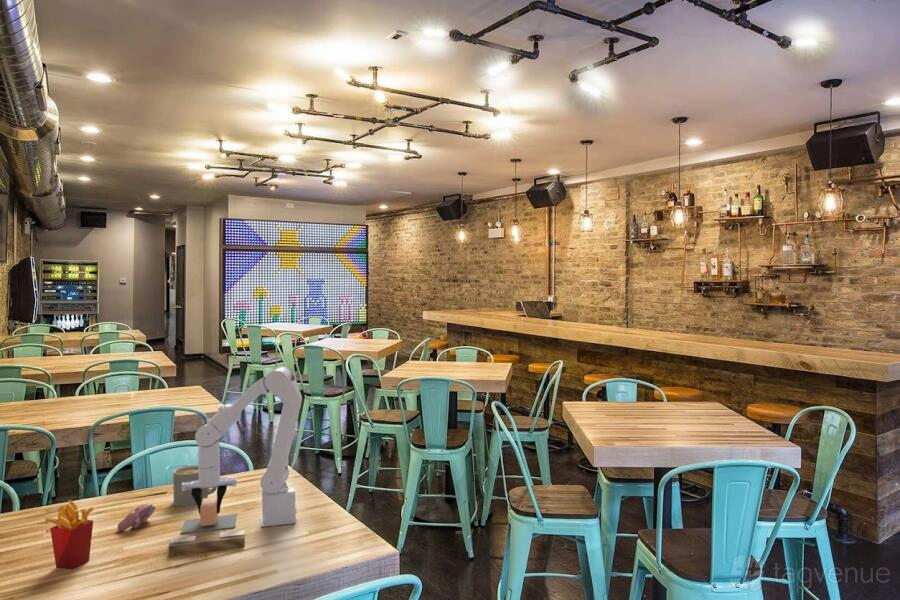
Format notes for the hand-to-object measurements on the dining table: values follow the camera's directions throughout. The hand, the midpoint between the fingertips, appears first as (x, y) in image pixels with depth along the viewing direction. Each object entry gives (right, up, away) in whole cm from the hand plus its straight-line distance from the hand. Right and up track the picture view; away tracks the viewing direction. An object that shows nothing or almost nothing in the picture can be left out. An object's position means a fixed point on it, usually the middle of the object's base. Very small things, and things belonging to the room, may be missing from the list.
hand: (209, 513), depth 174 cm
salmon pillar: (0, -2, -1) cm, 2 cm away
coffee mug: (-12, -3, +18) cm, 22 cm away
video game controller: (-20, -3, -1) cm, 21 cm away
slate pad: (0, -3, -1) cm, 3 cm away
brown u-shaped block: (+6, -3, -16) cm, 17 cm away
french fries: (-24, -4, -26) cm, 36 cm away
